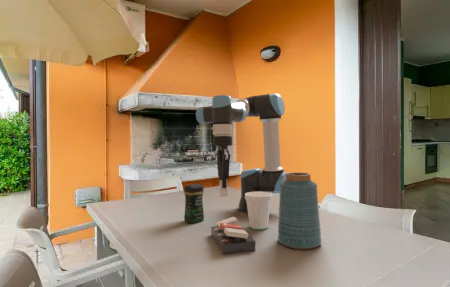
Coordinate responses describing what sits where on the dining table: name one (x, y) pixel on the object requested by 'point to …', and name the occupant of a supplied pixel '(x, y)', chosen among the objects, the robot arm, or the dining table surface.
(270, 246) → the dining table surface
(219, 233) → the rocker switch panel
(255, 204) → the cup
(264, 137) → the robot arm
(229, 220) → the rocker
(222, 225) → the rocker
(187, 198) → the coffee jar
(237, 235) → the rocker
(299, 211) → the vase
